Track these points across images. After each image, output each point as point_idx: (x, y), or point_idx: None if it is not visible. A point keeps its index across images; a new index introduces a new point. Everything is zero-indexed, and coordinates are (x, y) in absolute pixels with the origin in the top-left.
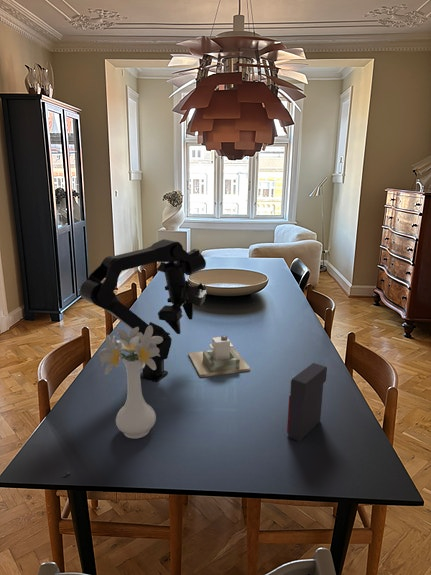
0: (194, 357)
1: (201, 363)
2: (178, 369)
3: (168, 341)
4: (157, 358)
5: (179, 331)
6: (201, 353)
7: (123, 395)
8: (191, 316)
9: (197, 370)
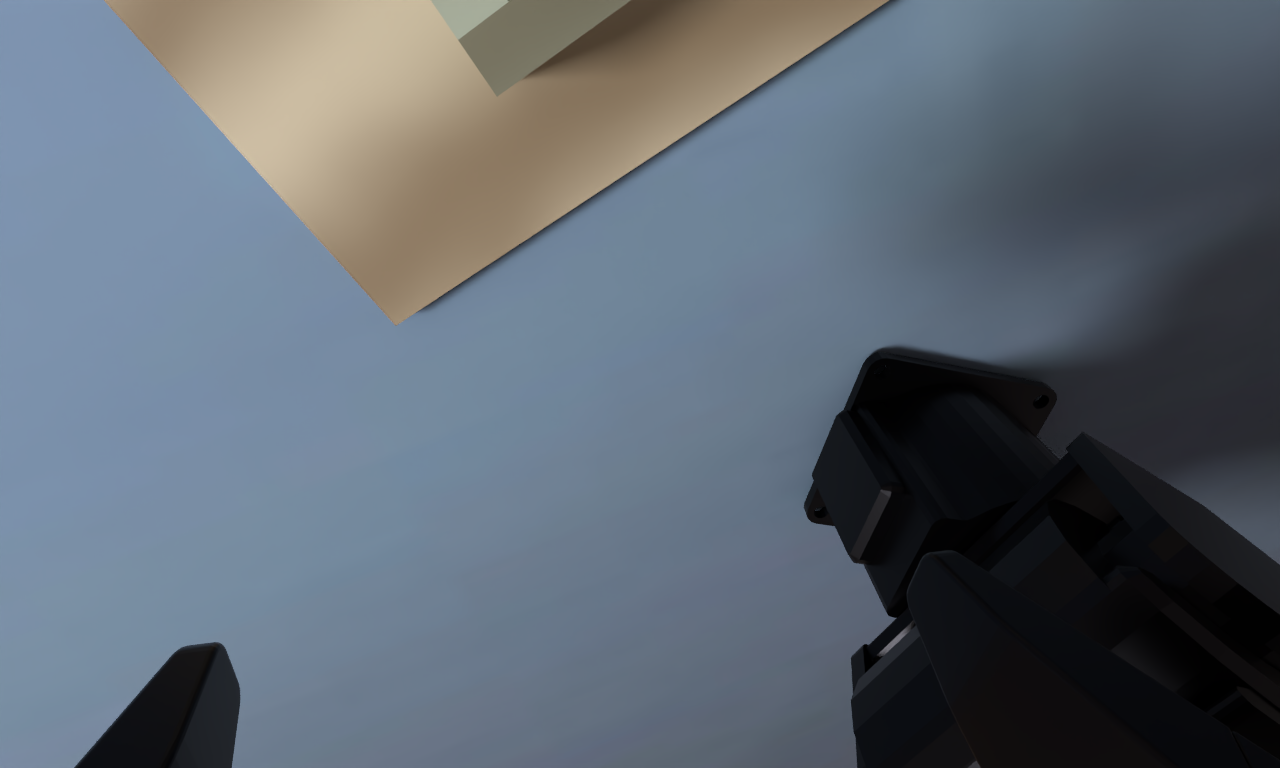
0: (477, 216)
1: (610, 66)
2: (764, 289)
3: (1256, 590)
4: (1209, 517)
5: (1028, 600)
6: (326, 169)
7: (1248, 504)
8: (193, 732)
9: (809, 52)
